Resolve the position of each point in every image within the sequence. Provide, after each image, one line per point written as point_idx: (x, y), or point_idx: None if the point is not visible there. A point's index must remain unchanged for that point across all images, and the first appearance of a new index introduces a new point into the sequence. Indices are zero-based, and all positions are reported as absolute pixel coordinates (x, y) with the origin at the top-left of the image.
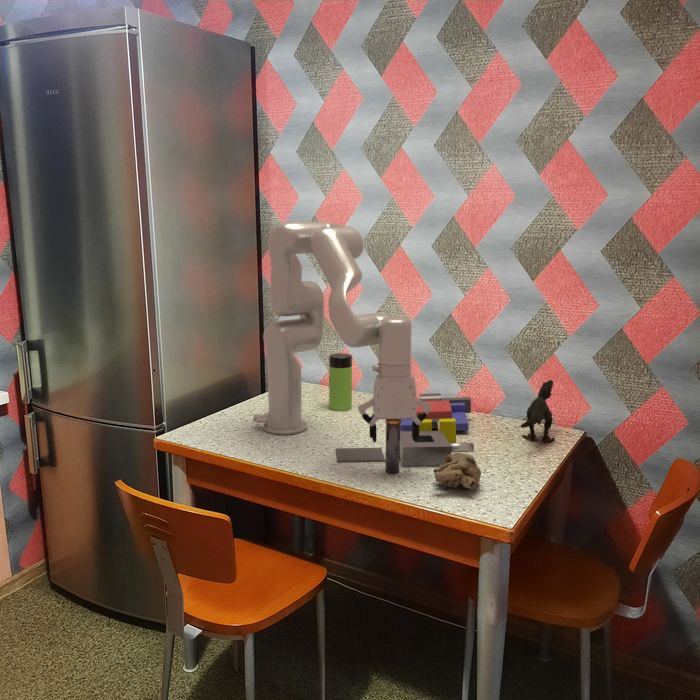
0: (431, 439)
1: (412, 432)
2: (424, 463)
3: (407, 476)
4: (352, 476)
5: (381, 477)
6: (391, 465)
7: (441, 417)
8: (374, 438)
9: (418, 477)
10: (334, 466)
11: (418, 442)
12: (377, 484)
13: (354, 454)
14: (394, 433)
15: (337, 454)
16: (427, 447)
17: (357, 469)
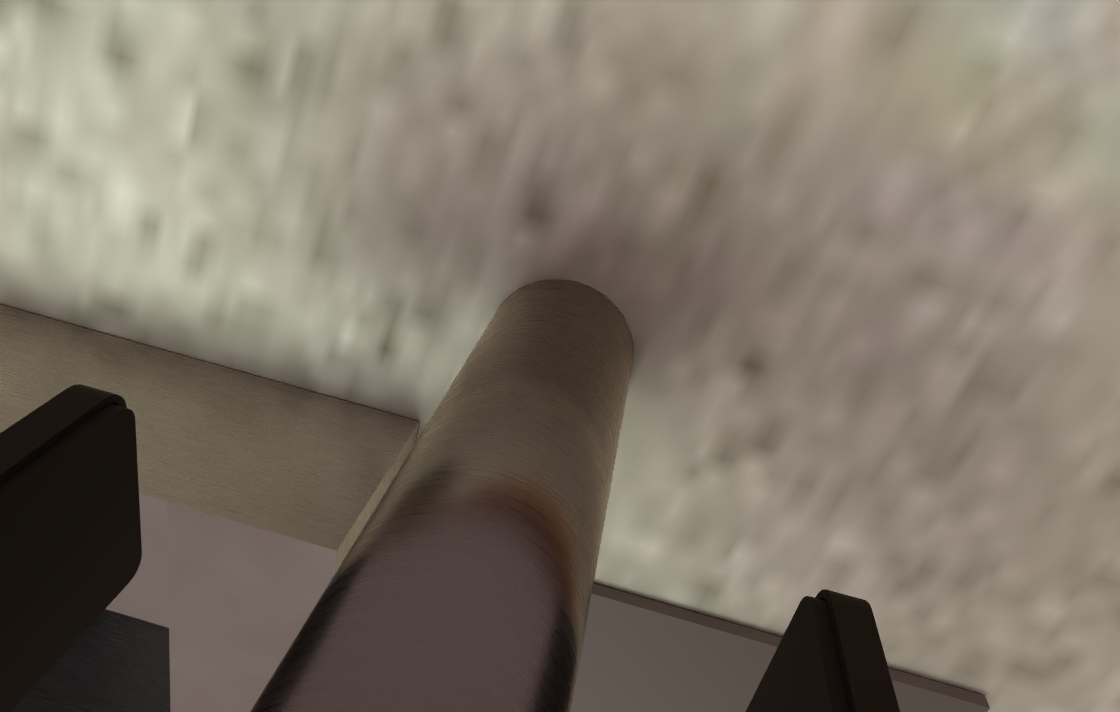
0: None
1: (66, 589)
2: (200, 376)
3: (447, 182)
4: (1032, 366)
5: (733, 243)
6: (582, 328)
7: None
8: (863, 645)
9: (339, 120)
10: (1065, 634)
11: (132, 610)
12: (873, 61)
13: None
14: (430, 612)
15: None
16: None
17: (881, 504)
